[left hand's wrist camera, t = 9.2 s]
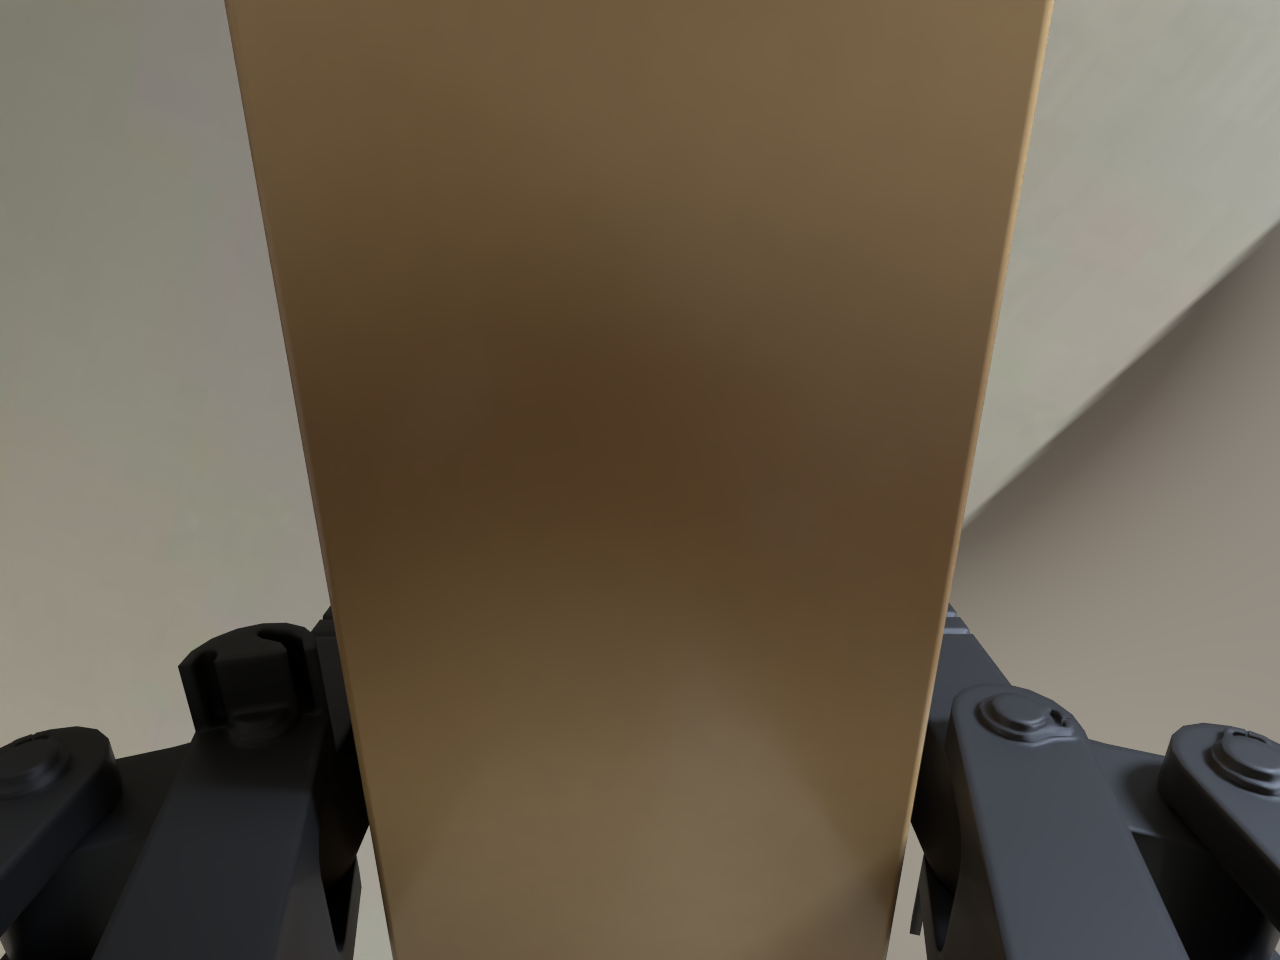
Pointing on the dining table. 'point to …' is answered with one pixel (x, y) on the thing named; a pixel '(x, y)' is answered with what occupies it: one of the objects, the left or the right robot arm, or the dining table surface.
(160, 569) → the dining table surface
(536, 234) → the bar
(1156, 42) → the dining table surface
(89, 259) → the dining table surface
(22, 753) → the left robot arm
